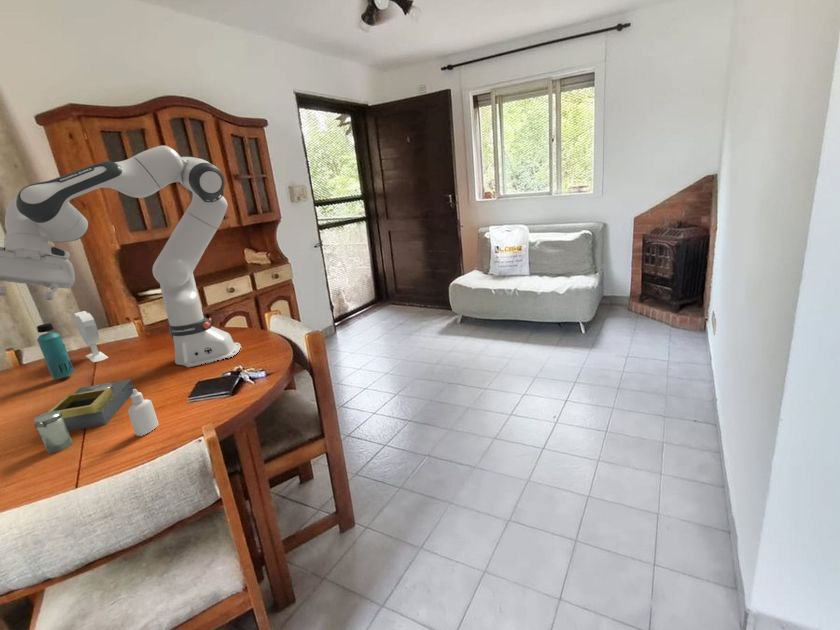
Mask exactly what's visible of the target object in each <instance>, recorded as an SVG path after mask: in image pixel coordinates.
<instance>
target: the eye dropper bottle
mask: <svg viewBox="0 0 840 630" xmlns="http://www.w3.org/2000/svg"><path fill="white" fill-rule="evenodd" d="M129 398H130V400H131V402H132V404H131V405H130V407H129V408H128V416H129V419H130V422H131V423H130V424H131V426H132V429H133V431H134V434H135V437H144V436H143V435H145V434H147V433H149V432H150V433H152V432H153V431H155V430H156V429H157V428H158V427H159V421H158V417H157V414H156V412H155V411H156V410H155V408H154V404H153V403H152V400H151V399H147V398H146V399H144V396H143V393H142V392H140V391H138V390H137V389H136V388H134V389H133V394H132V395H131V396H130V397H129ZM157 426H158V427H157ZM156 427H157V428H156ZM155 428H156V429H155ZM154 429H155V430H154ZM152 430H153V431H152ZM151 431H152V432H151ZM150 433H149V434H150ZM147 435H148V434H147ZM145 436H146V435H145Z"/></svg>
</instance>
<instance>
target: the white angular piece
mask: <svg viewBox="0 0 840 630" xmlns="http://www.w3.org/2000/svg"><path fill="white" fill-rule="evenodd" d="M72 318H73V321H74V323H75V326H76V328H77V330H78V333H79V334H80V336H81V338H82V340H83V342H84V343H85V346H86V347H89V348H90V350H91V353H89V354H87V355H85V357H86V358H87V359H89V360H90V361H91V362H92V363H95V362H96V363H97V362H101V361H104V360H106V359H109V356H107V355H106V354H105V353H103V352H102V351H99V349H98V346H97V344H99V340H100V338H99V337H100V336H99V330H98V328H97V324H96V321H95V318H94V317H93V315H92V314H91V313H90V312H88V311H86V310H84V311H79V312H75V313H73V314H72Z"/></svg>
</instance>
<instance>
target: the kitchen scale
mask: <svg viewBox="0 0 840 630" xmlns="http://www.w3.org/2000/svg"><path fill="white" fill-rule="evenodd" d="M133 389H135V387H134V384H133V381H132V379H127V380H121V381H120V380H119V381H113V382H104V383H99V384H96V385H91V386H84V387H80V388H78V389H77V390H76V391H75V392H74V393H71V394H67V395H65V397H63V398H62V399H61V400H60V401H59V402H58V403H56V404H55V405H54V406H53V407H51V409H50V410H48V411H47V412H50V411H55V410H59V411H61V414H62V417H63V420H64V422H65V425H66V427H67V430H68V432H72V431H77V430H83V429H84V430H85V429H90V428H94V427H100V426H105V425H107V424H108V423H109V422H110V420H111V419H112V418H113V417H114V416H115V415H116V413H117V412H118V411H119V410H120V409H121V407H122V406H123V405H124V404H126V402H127V401H128V399H130V398H131V397H130V396H131V395H132V394H133Z"/></svg>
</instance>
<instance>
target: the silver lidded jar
mask: <svg viewBox="0 0 840 630" xmlns="http://www.w3.org/2000/svg"><path fill="white" fill-rule="evenodd" d="M49 411H50V410H49ZM33 422H34V427H35V428H36V429H37V431H38V433H39V436H40V437H41V440H42V443H43V445H44V447H45V449H46V452H47V453H48V454H56V453H55V452H57V453H59V451H60V452H63V451H65V450H67V449H69V448H70V447H71V446H73V440H72V436H71V435H70V431H68V430H67V427H66V425H65V422H64V420H63V417H62V414H61V411H59V410H55V411H50V412H48V411H47V412H44V413H41V414H39V415H38V416H36V417H35V418H34V419H33ZM69 446H70V447H69ZM66 448H67V449H66ZM64 449H65V450H64ZM62 450H63V451H62Z"/></svg>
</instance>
